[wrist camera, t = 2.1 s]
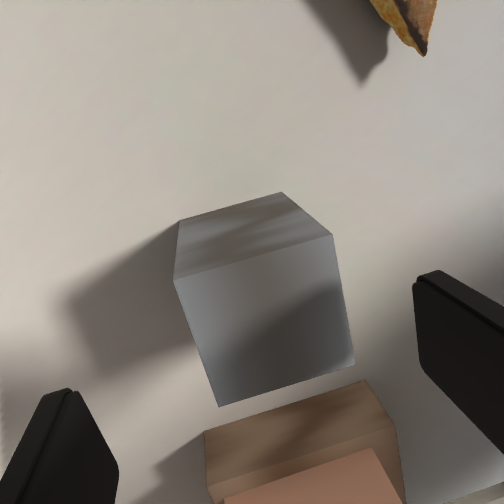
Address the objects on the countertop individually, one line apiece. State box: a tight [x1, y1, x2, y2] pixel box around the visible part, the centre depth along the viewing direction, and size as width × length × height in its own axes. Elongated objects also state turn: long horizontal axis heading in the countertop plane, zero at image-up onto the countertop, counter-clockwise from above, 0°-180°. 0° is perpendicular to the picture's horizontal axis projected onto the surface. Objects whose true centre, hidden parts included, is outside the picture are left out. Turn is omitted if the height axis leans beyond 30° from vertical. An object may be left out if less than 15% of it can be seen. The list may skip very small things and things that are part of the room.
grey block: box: [173, 192, 356, 407], centre depth 15 cm, size 5×5×7 cm
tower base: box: [204, 380, 406, 504], centre depth 23 cm, size 10×10×4 cm
